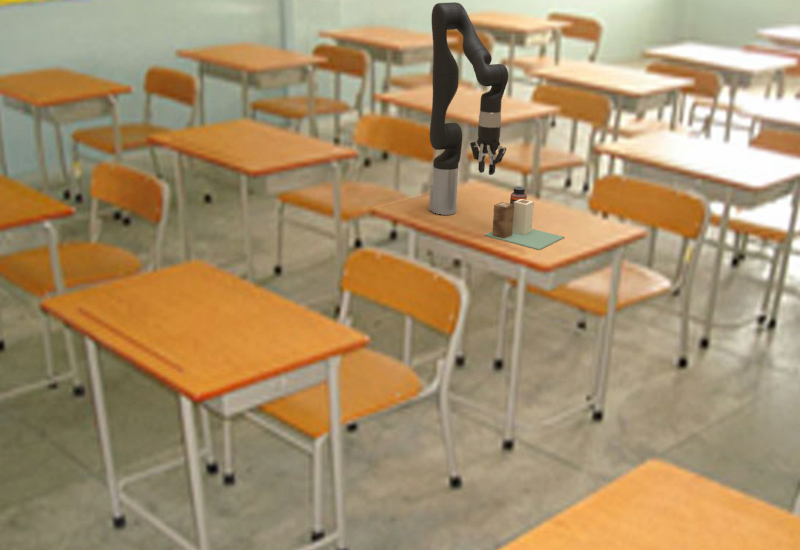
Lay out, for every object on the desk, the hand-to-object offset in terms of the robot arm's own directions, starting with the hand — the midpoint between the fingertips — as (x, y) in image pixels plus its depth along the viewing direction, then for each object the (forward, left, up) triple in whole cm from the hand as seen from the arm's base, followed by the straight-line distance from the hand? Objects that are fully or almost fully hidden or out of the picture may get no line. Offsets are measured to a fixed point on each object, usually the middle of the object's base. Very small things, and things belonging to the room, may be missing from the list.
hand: (486, 173), depth 338 cm
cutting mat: (+14, +5, -21) cm, 26 cm away
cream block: (+11, +8, -21) cm, 25 cm away
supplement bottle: (+1, +22, -21) cm, 31 cm away
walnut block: (+8, 0, -21) cm, 22 cm away
